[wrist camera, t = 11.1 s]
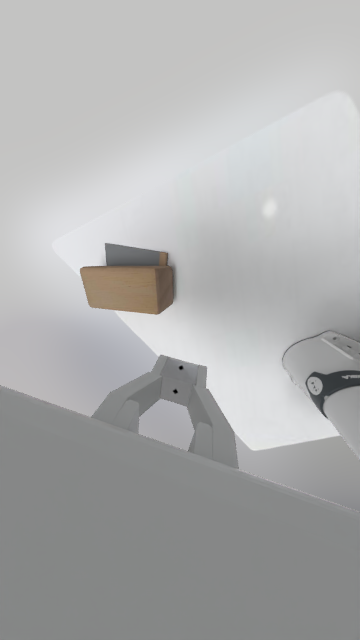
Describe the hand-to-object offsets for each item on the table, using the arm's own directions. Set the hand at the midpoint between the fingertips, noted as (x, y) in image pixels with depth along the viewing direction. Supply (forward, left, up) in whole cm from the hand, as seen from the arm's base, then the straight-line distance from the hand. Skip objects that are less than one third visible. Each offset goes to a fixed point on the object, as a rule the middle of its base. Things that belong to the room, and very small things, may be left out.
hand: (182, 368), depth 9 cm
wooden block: (+8, +1, -25) cm, 26 cm away
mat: (+20, 0, -32) cm, 38 cm away
